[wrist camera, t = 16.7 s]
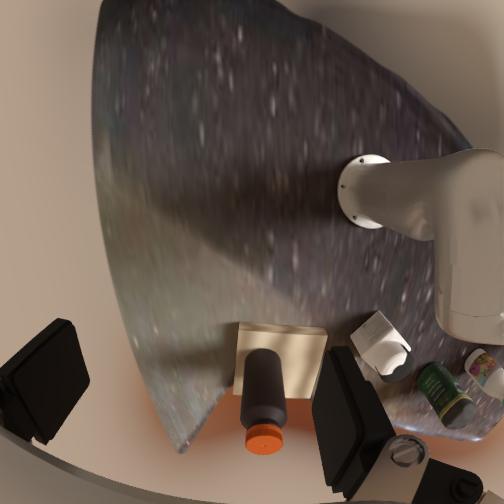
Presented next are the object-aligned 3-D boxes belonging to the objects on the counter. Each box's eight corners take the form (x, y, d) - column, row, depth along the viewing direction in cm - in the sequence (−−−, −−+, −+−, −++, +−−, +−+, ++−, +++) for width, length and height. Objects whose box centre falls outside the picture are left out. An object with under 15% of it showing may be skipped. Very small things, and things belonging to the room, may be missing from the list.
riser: (324, 327, 51) (327, 335, 48) (307, 389, 55) (309, 398, 52) (239, 321, 50) (238, 329, 48) (233, 385, 55) (232, 394, 52)
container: (396, 330, 51) (424, 365, 38) (368, 354, 53) (391, 394, 40) (378, 309, 50) (407, 344, 37) (348, 335, 51) (370, 375, 39)
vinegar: (239, 352, 49) (230, 436, 29) (275, 343, 48) (282, 426, 29) (251, 379, 50) (247, 461, 31) (285, 370, 50) (295, 453, 30)
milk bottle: (484, 356, 54) (521, 394, 35) (465, 374, 56) (500, 416, 36) (480, 342, 53) (522, 381, 33) (461, 361, 54) (500, 405, 35)
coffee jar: (410, 381, 55) (442, 432, 37) (431, 357, 53) (469, 404, 35) (429, 389, 56) (459, 435, 38) (448, 367, 54) (483, 410, 36)
